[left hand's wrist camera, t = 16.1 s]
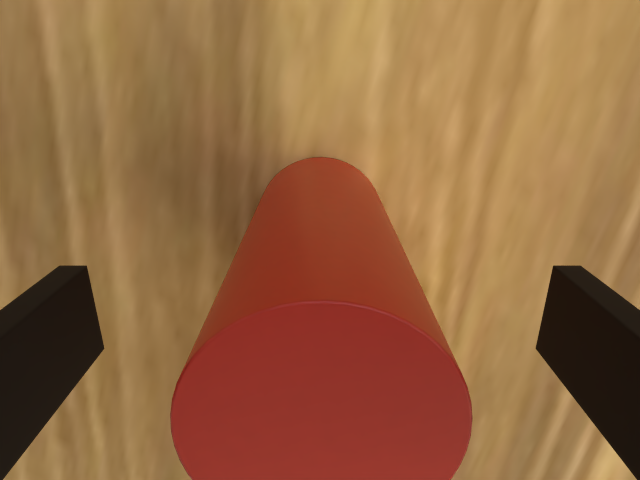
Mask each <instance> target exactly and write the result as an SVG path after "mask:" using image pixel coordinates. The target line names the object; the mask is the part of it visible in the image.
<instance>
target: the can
mask: <svg viewBox="0 0 640 480" xmlns="http://www.w3.org/2000/svg"><path fill="white" fill-rule="evenodd" d="M170 418H171V432H172V437H173V441H174V446H175V449H176V451H177V454H178V456H179V459H180V461H181V463H182V465H183V467H184V468H185V470H186V472H187V473H188V475H189V476H190V477H191V479H192V480H450V479H451V478H452V477H453V475H454V474H455V472H456V471H457V469H458V468H459V466H460V464H461V462H462V460H463V458H464V455H465V453H466V451H467V447H468V444H469V440H470V436H471V428H472V406H471V399H470V395H469V391H468V387H467V385H466V383H465V380H464V378H463V376H462V373H461V371H460V369H459V367H458V365H457V362H456V360H455V358H454V356H453V354H452V352H451V350H450V348H449V345H448V343H447V341H446V339H445V337H444V335H443V333H442V331H441V328H440V326H439V324H438V322H437V320H436V318H435V316H434V314H433V311H432V309H431V307H430V305H429V303H428V301H427V299H426V296H425V294H424V292H423V290H422V288H421V286H420V284H419V282H418V279H417V277H416V275H415V273H414V271H413V269H412V267H411V265H410V262H409V260H408V258H407V256H406V254H405V252H404V250H403V247H402V245H401V243H400V241H399V239H398V237H397V235H396V233H395V230H394V228H393V226H392V224H391V222H390V220H389V218H388V216H387V213H386V211H385V209H384V207H383V205H382V203H381V201H380V199H379V196H378V194H377V192H376V190H375V188H374V187H373V185H372V183H371V182H370V181H369V180H368V178H367V177H366V176H365V175H364V174H363V173H362V172H360V171H359V170H358V169H356V168H355V167H354V166H352V165H350V164H348V163H346V162H343V161H340V160H337V159H332V158H324V157H317V158H309V159H304V160H301V161H298V162H295V163H293V164H291V165H289V166H287V167H286V168H284V169H283V170H282V171H280V172H279V173H278V174H277V175H276V176H275V177H274V178H273V179H272V180H271V182H270V183H269V185H268V186H267V188H266V190H265V192H264V194H263V196H262V198H261V200H260V202H259V205H258V207H257V209H256V211H255V213H254V216H253V218H252V220H251V222H250V224H249V227H248V229H247V231H246V233H245V235H244V237H243V240H242V242H241V244H240V246H239V248H238V251H237V253H236V255H235V257H234V259H233V261H232V264H231V266H230V268H229V270H228V272H227V275H226V277H225V279H224V281H223V283H222V285H221V288H220V290H219V292H218V294H217V296H216V299H215V301H214V303H213V305H212V307H211V310H210V312H209V314H208V316H207V318H206V320H205V323H204V325H203V327H202V329H201V331H200V334H199V336H198V338H197V340H196V342H195V344H194V347H193V349H192V351H191V353H190V355H189V358H188V360H187V362H186V364H185V366H184V368H183V371H182V373H181V375H180V377H179V379H178V382H177V384H176V388H175V391H174V394H173V398H172V405H171V413H170Z"/></svg>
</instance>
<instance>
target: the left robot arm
mask: <svg viewBox="0 0 640 480" xmlns="http://www.w3.org/2000/svg"><path fill="white" fill-rule="evenodd" d="M103 350H104V345H103V340H102V335H101V331H100V326H99V321H98V317H97V312H96V307H95V302H94V298H93V293H92V288H91V283H90V279H89V274H88V269H87V266H58V267H57V268H56V269H54V270H53V271H52V272H50V273H49V274H48V275H46V276H45V277H44V278H42V279H41V280H40V281H38V282H37V283H36V284H34V285H33V286H32V287H31V288H29V289H28V290H27V291H25V292H24V293H23V294H21V295H20V296H19V297H17V298H16V299H15V300H13V301H12V302H11V303H9V304H8V305H7V306H5V307H4V308H3V309H1V310H0V480H3V479H4V477H5V476H6V475H7V474H8V472H9V471H10V470H11V468H12V467H13V466H14V465H15V463H16V462H17V461H18V459H19V458H20V457H21V456H22V454H23V453H24V452H25V450H26V449H27V448H28V446H29V445H30V444H31V443H32V441H33V440H34V439H35V437H36V436H37V435H38V434H39V432H40V431H41V430H42V428H43V427H44V426H45V424H46V423H47V422H48V421H49V419H50V418H51V417H52V415H53V414H54V413H55V412H56V410H57V409H58V408H59V406H60V405H61V404H62V403H63V401H64V400H65V399H66V397H67V396H68V395H69V393H70V392H71V391H72V390H73V388H74V387H75V386H76V384H77V383H78V382H79V381H80V379H81V378H82V377H83V375H84V374H85V373H86V371H87V370H88V369H89V368H90V366H91V365H92V364H93V362H94V361H95V360H96V359H97V357H98V356H99V355H100V353H101V352H102V351H103ZM536 350H537V351H538V352H539V353H540V355H541V356H542V357H543V359H544V360H545V361H546V362H547V364H548V365H549V366H550V368H551V369H552V370H553V371H554V373H555V374H556V375H557V377H558V378H559V379H560V381H561V382H562V383H563V384H564V386H565V387H566V388H567V390H568V391H569V392H570V393H571V395H572V396H573V397H574V399H575V400H576V401H577V403H578V404H579V405H580V406H581V408H582V409H583V410H584V412H585V413H586V414H587V415H588V417H589V418H590V419H591V421H592V422H593V423H594V424H595V426H596V427H597V428H598V430H599V431H600V432H601V434H602V435H603V436H604V437H605V439H606V440H607V441H608V443H609V444H610V445H611V446H612V448H613V449H614V450H615V452H616V453H617V454H618V456H619V457H620V458H621V459H622V461H623V462H624V463H625V465H626V466H627V467H628V468H629V470H630V471H631V472H632V474H633V475H634V476H635V477H636V479H637V480H640V310H639V309H637V308H636V307H635V306H633V305H632V304H631V303H629V302H628V301H627V300H625V299H624V298H623V297H621V296H620V295H619V294H617V293H616V292H615V291H613V290H612V289H611V288H609V287H608V286H607V285H606V284H604V283H603V282H602V281H600V280H599V279H598V278H596V277H595V276H594V275H592V274H591V273H590V272H588V271H587V270H586V269H584V268H583V267H582V266H553V269H552V274H551V279H550V283H549V288H548V293H547V298H546V302H545V307H544V312H543V317H542V321H541V326H540V331H539V335H538V340H537V345H536Z"/></svg>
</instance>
